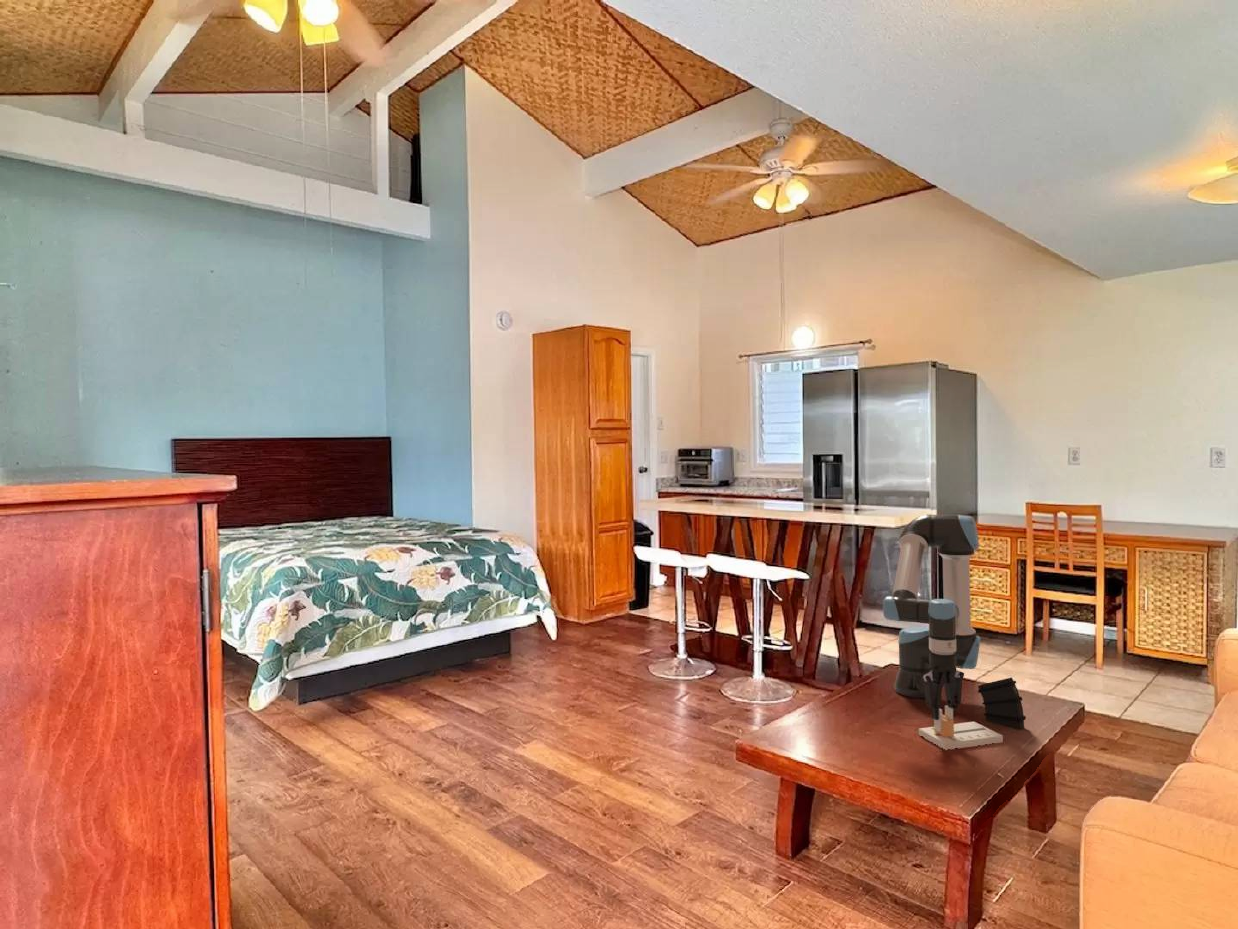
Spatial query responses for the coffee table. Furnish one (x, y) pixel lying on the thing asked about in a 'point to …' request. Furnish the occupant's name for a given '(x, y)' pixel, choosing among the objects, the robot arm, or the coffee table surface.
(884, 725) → the coffee table surface
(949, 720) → the fader tab
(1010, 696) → the magazine
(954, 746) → the fader console
